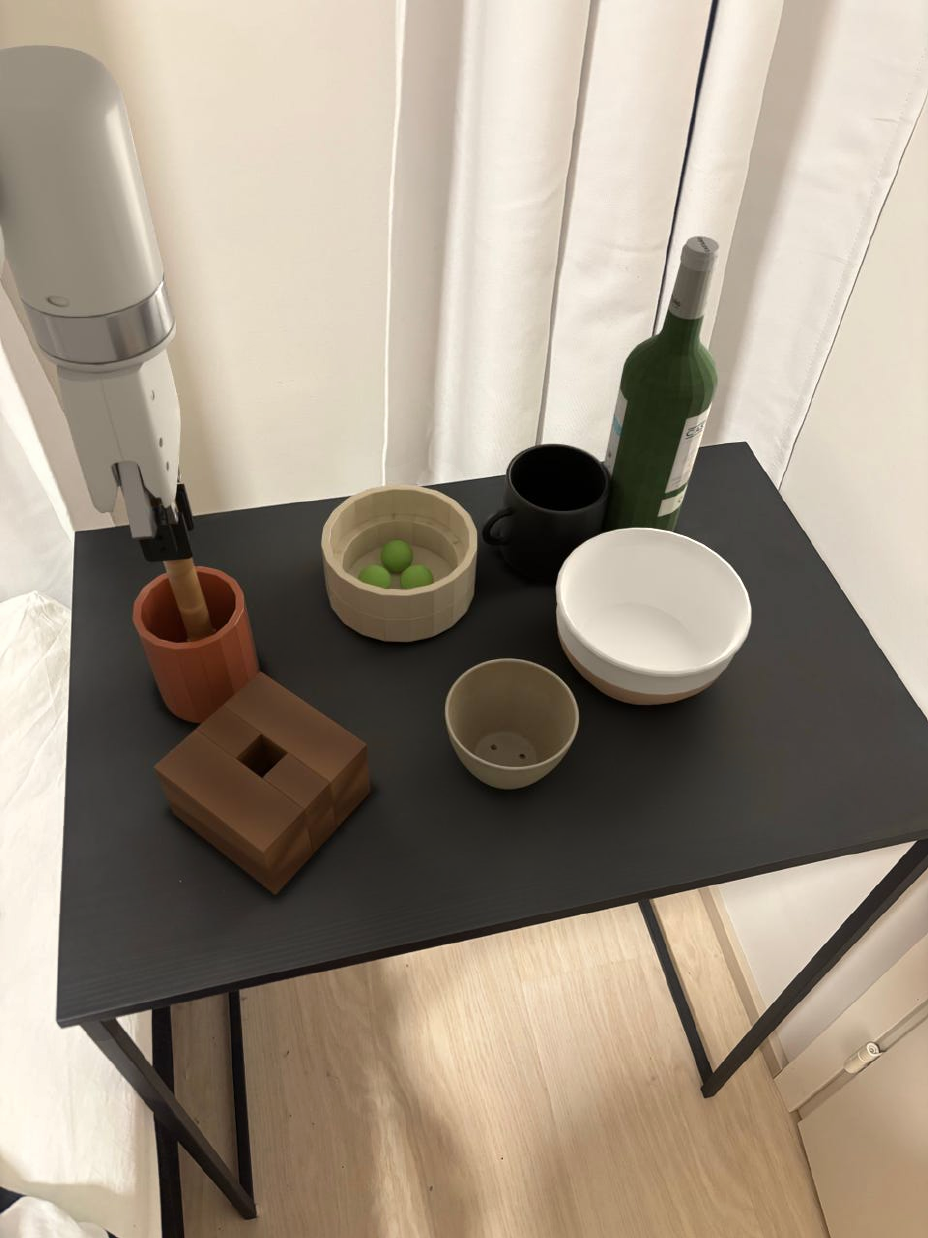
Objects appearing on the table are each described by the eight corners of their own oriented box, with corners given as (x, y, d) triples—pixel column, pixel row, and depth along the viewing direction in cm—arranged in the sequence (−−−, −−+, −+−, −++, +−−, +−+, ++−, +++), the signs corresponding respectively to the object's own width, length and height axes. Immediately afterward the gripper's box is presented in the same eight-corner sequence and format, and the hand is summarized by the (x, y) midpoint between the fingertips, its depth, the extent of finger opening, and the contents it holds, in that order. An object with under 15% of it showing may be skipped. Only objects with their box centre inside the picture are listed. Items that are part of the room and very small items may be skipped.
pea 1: (369, 609, 82) (382, 586, 80) (346, 587, 83) (358, 563, 81) (389, 598, 85) (402, 575, 83) (366, 577, 85) (379, 554, 83)
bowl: (759, 708, 78) (788, 651, 72) (584, 750, 75) (598, 694, 69) (680, 573, 88) (700, 512, 82) (521, 604, 85) (529, 544, 79)
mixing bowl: (412, 672, 79) (412, 620, 74) (297, 599, 84) (289, 545, 79) (501, 581, 86) (507, 528, 81) (390, 518, 91) (389, 464, 86)
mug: (459, 534, 90) (462, 463, 83) (567, 503, 94) (579, 432, 87) (500, 602, 85) (507, 533, 78) (613, 567, 88) (630, 497, 81)
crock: (209, 741, 74) (185, 666, 67) (140, 689, 77) (109, 612, 69) (280, 676, 79) (265, 599, 71) (212, 629, 82) (191, 551, 74)
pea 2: (391, 578, 86) (389, 578, 83) (375, 550, 86) (373, 549, 83) (419, 563, 86) (418, 562, 83) (403, 534, 86) (402, 533, 83)
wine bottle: (676, 562, 89) (766, 274, 66) (594, 560, 89) (656, 270, 66) (664, 505, 94) (745, 219, 71) (587, 503, 94) (643, 215, 71)
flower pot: (588, 793, 73) (602, 745, 67) (470, 834, 70) (475, 787, 64) (535, 695, 78) (544, 643, 73) (425, 729, 76) (425, 678, 70)
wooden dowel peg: (208, 679, 75) (150, 499, 60) (192, 666, 76) (130, 485, 60) (229, 662, 76) (177, 481, 61) (212, 650, 77) (157, 468, 62)
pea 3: (422, 599, 81) (402, 571, 81) (408, 608, 84) (388, 581, 83) (445, 581, 83) (425, 554, 82) (431, 590, 85) (412, 564, 85)
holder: (275, 895, 66) (262, 852, 61) (173, 814, 70) (153, 767, 65) (370, 791, 72) (367, 744, 67) (271, 721, 76) (260, 670, 70)
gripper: (49, 239, 55) (125, 472, 70) (6, 404, 45) (105, 636, 60) (177, 233, 56) (226, 464, 70) (163, 394, 46) (223, 625, 61)
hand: (170, 542), depth 65 cm, fingers closed on wooden dowel peg, 2 cm apart
